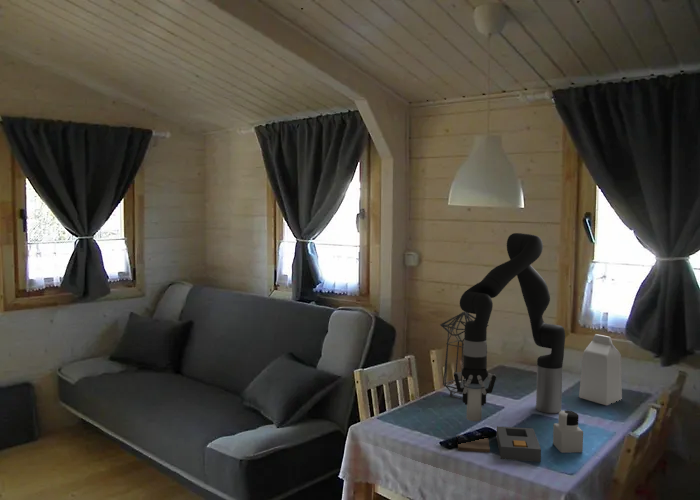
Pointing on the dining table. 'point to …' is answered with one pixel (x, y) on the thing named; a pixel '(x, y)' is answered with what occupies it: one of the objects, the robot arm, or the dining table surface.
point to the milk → (601, 372)
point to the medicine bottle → (568, 433)
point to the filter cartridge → (474, 402)
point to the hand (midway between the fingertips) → (474, 404)
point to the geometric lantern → (455, 345)
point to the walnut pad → (475, 445)
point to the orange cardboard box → (519, 443)
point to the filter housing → (518, 453)
